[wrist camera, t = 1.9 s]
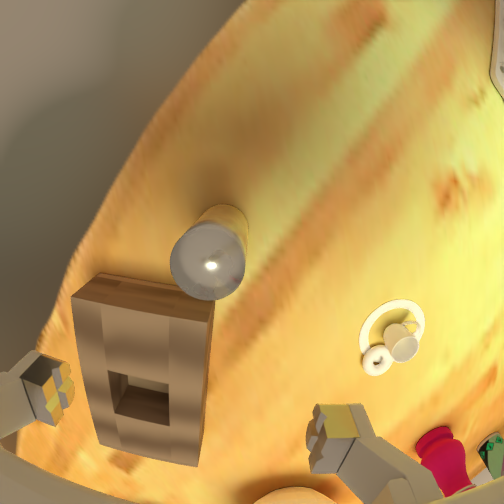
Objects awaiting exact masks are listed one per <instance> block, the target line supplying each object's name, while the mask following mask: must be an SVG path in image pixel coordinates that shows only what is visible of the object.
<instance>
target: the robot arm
mask: <svg viewBox="0 0 504 504" xmlns="http://www.w3.org/2000/svg"><path fill="white" fill-rule="evenodd" d="M490 76H491V79H492V82H493V83H494V85H495V87H496V88H497V90H498V91H499V93H500V94H501V96H502V97H503V99H504V0H496V11H495V31H494V43H493V53H492V62H491V69H490ZM70 373H71V369H70V365H69V364H68V363H67V362H65V361H62V360H59V359H56V358H54V357H51V356H48V355H46V354H42V353H39V352H37V351H34V350H33V351H30V352H29V353H28V354H27V355H26V356H25V357H23V359H21V360H20V361H19V362H18V363H17V364H16V365H15V366H14V367H13V368H12V369H11V370H10V371H9V372H8V373H7V372H1V373H0V439H1V438H3V437H5V436H7V435H9V434H11V433H13V432H15V431H17V430H19V429H21V428H23V427H24V426H26V425H28V424H30V423H32V422H34V421H36V419H37V420H39V421H42V422H44V423H47V424H49V425H52V426H55V427H56V425H57V424H58V422H59V421H60V420H61V418H62V417H63V415H64V414H63V409H65V408H67V407H69V406H70V405H71V403H72V401H73V398H74V394H75V387H74V383H73V381H72V380H71V378H70V377H69V375H70ZM313 418H314V419H312V420H311V421H310V422H309V424H308V427H307V432H306V446H307V449H308V450H309V451H310V452H311V453H310V456H309V458H308V459H309V465H310V471H311V474H329V473H337V474H336V475H337V476H338V477H339V478H340V479H341V480H342V481H343V482H344V483H345V484H346V485H347V486H348V487H349V488H350V490H351V491H352V492H353V493H354V494H355V495H356V496H357V497H358V498H359V499H360V500H361V501H362V502H363V503H364V504H504V476H501V477H499V478H497V479H495V480H492V481H490V482H488V483H485V484H482V485H480V486H477V487H475V488H472V489H469V490H467V491H464V492H461V493H458V494H455V495H452V496H449V497H446V498H443V495H442V493H441V491H440V489H439V487H438V485H437V483H436V480H435V478H434V476H433V474H432V472H431V471H430V470H428V469H427V468H425V467H424V466H422V465H421V464H419V463H418V462H416V461H415V460H413V459H412V458H410V457H409V456H407V455H406V454H404V453H403V452H401V451H400V450H399V449H397V448H396V447H394V446H393V445H391V444H390V443H389V442H387V441H386V440H384V439H383V438H381V437H376V435H375V433H374V430H373V428H372V426H371V423H370V421H369V418H368V416H367V413H366V411H365V409H364V406H363V405H362V404H361V403H354V404H316V405H315V407H314V410H313ZM0 504H138V503H135V502H131V501H127V500H124V499H120V498H117V497H114V496H111V495H107V494H104V493H101V492H98V491H95V490H93V489H90V488H87V487H84V486H82V485H79V484H76V483H74V482H71V481H69V480H66V479H64V478H62V477H59V476H57V475H55V474H52V473H50V472H48V471H46V470H44V469H42V468H39V467H37V466H35V465H33V464H31V463H29V462H27V461H25V460H23V459H22V458H20V457H18V456H16V455H14V454H12V453H10V452H9V451H7V450H5V449H3V447H2V446H1V444H0Z"/></svg>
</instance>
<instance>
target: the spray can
mask: <svg viewBox="0 0 504 504" xmlns="http://www.w3.org/2000/svg"><path fill="white" fill-rule="evenodd" d="M477 451H478V453H479V455H480V456H481V458H482V460H483V461H484V463H485V465H486V467H487V468H488V470H489V472H490V473H491V475H492V477H493V479H494V480H495V479H497V478H499V477H501V476H504V440H503V438H502V437H501V435H500V434H499V433H498V432H495V433H492V434H491V435H489V436H488V437H486V438H485V439H484V440H483V441H482V442H481V443H480V444H479V446H478V448H477Z"/></svg>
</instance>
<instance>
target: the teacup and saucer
mask: <svg viewBox="0 0 504 504" xmlns="http://www.w3.org/2000/svg"><path fill="white" fill-rule="evenodd" d="M395 308H405V309H408V310H409V311H411V312H412V313H413V314H414V316H415V318H416V321H417V322H416V321H407V322H403V323H401V324H397V323H393V324H391V325H389V326H388V327H387V328H386V329H385V331H384V335H383V338H384V342H385V345H377V346H374V347H372V348H370V346H369V343H368V334H369V331H370V328H371V326H372V325H373V323H374V322H375V320H376V319H377V318H378V317H379V316H380V315H382V314H383V313H385V312H386V311H389V310H391V309H395ZM407 324H417V329H416V331H415V332H413V333H411V332H410V331H409V330H408V329H407V328H406V327H404V326H405V325H407ZM424 327H425V318H424V314H423V311H422V309H421V308H420V307H419V306H418V305H417V304H416V303H415V302H413V301H410V300H406V299H397V300H392V301H389V302H387V303H385V304H383V305H381V306H379V307H378V308H377V309H375V310H374V311H373V312H372V313H371V314H370V315H369V316H368V318H367V319H366V321H365V322H364V324H363V326H362V328H361V331H360V335H359V346H360V349H361V352H362V353H363V355H364V358H363V362H362V365H363V369H364V371H365V372H366V373H367V374H369V375H371V376H377V375H380V374H383V373H384V372H385V371H387V370H388V369H389V367H390V366H391V364H392V362H393V361H395V362H398V363H403V362H406V361H408V360H410V359H411V358H413V357H414V356H415V354H416V353H417V351H418V349H419V340H420V339H421V337H422V334H423V331H424ZM373 362H376V363H379V364H378V365H374V364H373Z"/></svg>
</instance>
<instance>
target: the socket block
mask: <svg viewBox="0 0 504 504" xmlns="http://www.w3.org/2000/svg"><path fill="white" fill-rule="evenodd" d="M71 304H72V313H73V321H74V329H75V336H76V343H77V349H78V355H79V360H80V366H81V371H82V376H83V381H84V386H85V390H86V395H87V399H88V403H89V407H90V411H91V415H92V419H93V423H94V426H95V430H96V433H97V437H98V440H99V443H100V444H101V445H104V446H107V447H111V448H114V449H117V450H121V451H124V452H128V453H132V454H136V455H140V456H144V457H148V458H152V459H156V460H161V461H166V462H171V463H176V464H181V465H187V466H192V467H198V462H199V456H200V451H201V445H202V439H203V433H204V421H205V408H206V396H207V384H208V372H209V361H210V350H211V339H212V329H213V319H214V309H215V300H209V301H208V300H201V299H197V298H194V297H192V296H190V295H188V294H187V293H185V292H184V291H183V290H182V289H181V288H180V287H179V286H175V285H168V284H162V283H156V282H150V281H144V280H138V279H132V278H126V277H121V276H115V275H109V274H104V273H99V274H98V275H96V276H95V277H94V278H93V279H91V280H90V281H89V282H88V283H87V284H85V285H84V286H83V287H82V288H80V289H79V290H78V291H77V292H76V293H74V294H73V295H72V296H71Z"/></svg>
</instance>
